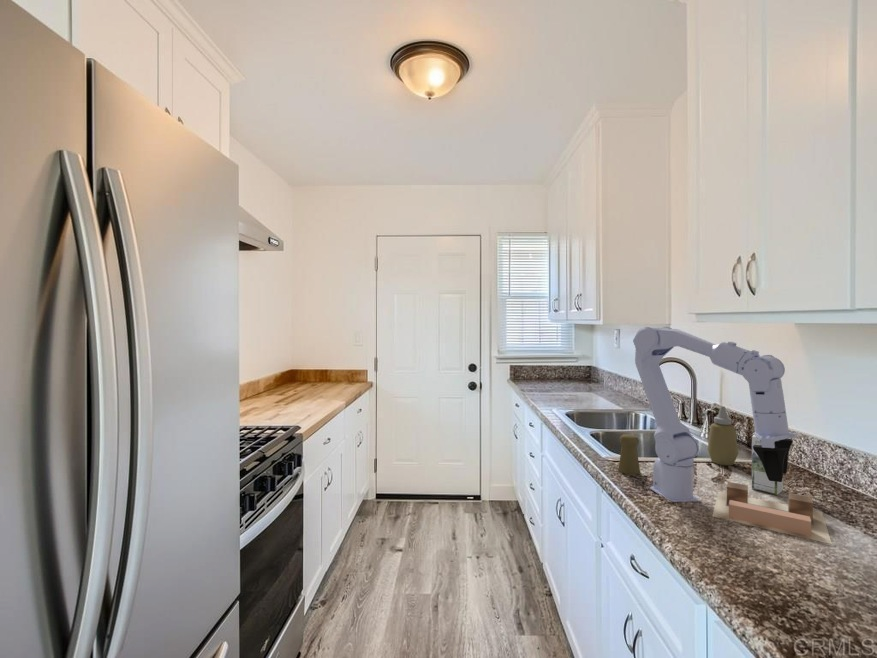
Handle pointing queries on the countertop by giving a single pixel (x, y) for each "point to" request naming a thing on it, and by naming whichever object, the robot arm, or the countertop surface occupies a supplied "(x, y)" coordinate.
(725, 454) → the squeeze bottle
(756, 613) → the countertop surface
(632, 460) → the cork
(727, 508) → the board
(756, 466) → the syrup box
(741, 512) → the beam
